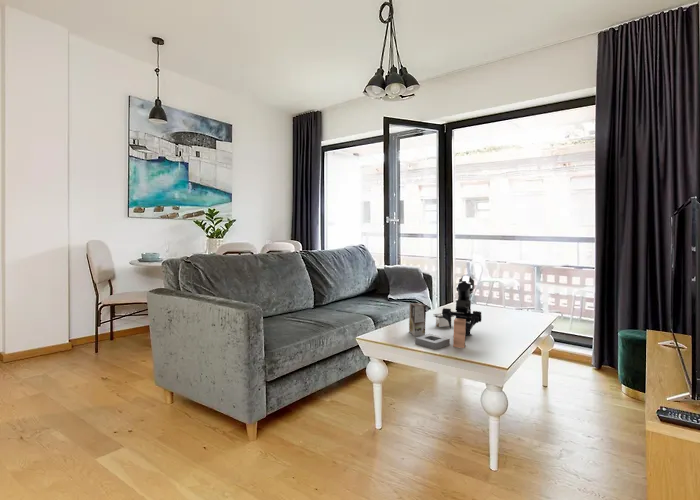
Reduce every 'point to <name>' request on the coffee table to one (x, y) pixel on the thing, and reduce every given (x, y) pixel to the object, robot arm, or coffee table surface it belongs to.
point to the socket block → (432, 341)
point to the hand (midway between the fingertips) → (459, 329)
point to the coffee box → (417, 319)
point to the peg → (459, 333)
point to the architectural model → (441, 320)
